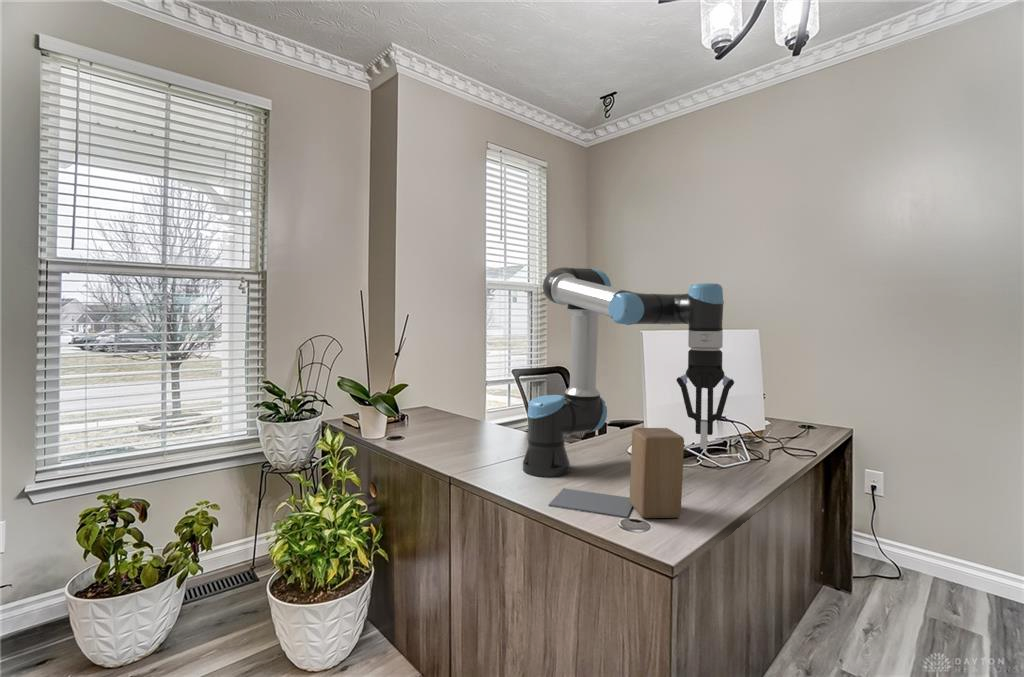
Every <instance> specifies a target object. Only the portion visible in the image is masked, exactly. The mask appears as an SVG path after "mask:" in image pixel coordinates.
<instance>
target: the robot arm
mask: <svg viewBox="0 0 1024 677" xmlns="http://www.w3.org/2000/svg"><path fill="white" fill-rule="evenodd" d="M688 288H689V289H688V292H687V293H677V294H674V293H672V294H670V293H669V294H667V293H666V294H665V293H643V292H641V293H639V292H633V291H630V290H625V289H621V288H617V287H613V286H612V283H611V280H610V278H609V276H608V275H607V274H606V273H605V272H604V271H602V270H600V269H595V268H582V267H581V268H578V267H577V268H576V267H558V268H554V269H552V270H551V271H550V272H548V273H547V275H546V276H545V277H544V280H543V283H542V290H543V293H544V296H545V297H546V298H547V300H549V301H550V302H552V303H553V304H554V303H555V304H558V305H562V306H567V308H566V309H567V311H568V312H569V313H570V314H571V330H570V331H571V333H570V334H571V335H570V337H571V338H570V359H569V360H570V362H569V363H570V370H569V387H568V388H567V389H566V390H565V391H564V396H563V395H559V394H546V395H542V396H541V395H540V396H537V397H534V398H532V399H531V400H530V401H529V402H528V407H527V440H528V441H527V444H528V445H527V448H526V451H525V454H524V458H523V459H522V460H523V461H522V471H523V472H524V473H526V474H528V475H530V476H535V477H536V476H537V477H543V476H544V477H547V478H550V477H559V476H564V475H567V474H568V473H570V471H571V462H570V459H569V456H568V453H567V450H566V446H565V437H566V436H568V435H569V436H570V435H576V434H583V433H584V434H588V433H592V432H596V431H598V430H600V429H601V428H603V426H604V425H605V423H606V420H607V417H608V407H607V405H606V401H605V400H604V399H603V397H601V393H600V391H599V390H598V389H597V362H598V361H597V360H598V359H597V358H598V335H599V334H598V330H599V316H600V315H604V316H607V317H609V318H611V319H612V321H613V322H614V323H616V324H618V325H619V324H620V325H628V326H631V325H688V334H687V335H688V336H687V338H688V339H687V340H688V342H687V343H688V344H687V345H688V346H687V347H688V348H690V349H689V350H688V351H687V353H688V354H687V357H688V358H687V361H688V362H687V369H686V371H685V374H683V375H681V376H678V377H677V378H676V379H675V380H676V382H677V385H678V386H679V387H680V389H681V395H682V399H683V402H684V407H685V410H686V414H687V417H688V418H690V419H693V420H694V421H695V430H694V431H695V433H696V435H700V440H699V441H700V446H699V447H700V450H708V436H712V435H713V432H714V427H713V426H714V425H713V424H714V422H715V421H717V420H719V421H720V420H721V419H722V416H723V412H724V409H725V407H726V402H727V399H728V395H729V391H730V389H731V388H732V387H733V386H734V385H735V381H734V379H733V378H730V377H728V376H727V375H725V371H724V370H723V351H722V350H721V349H722V348H723V346H724V345H723V338H724V337H723V336H724V335H723V334H724V331H723V317H724V303H725V301H724V293H723V292H724V290H723V287H722V285H721V284H719V283H695V284H691V285H689V287H688ZM688 379H689V380H688ZM688 381H690V383H691V384H692V385H693V386H694V388H695V412H694V410H693V406H692V403H691V399H690V398H691V397H690V393H689V390H688V387H687V384H688ZM721 381H722V385H723V388H722V391H721V394H720V397H719V400H718V401H719V402H718V405H717V409H716V412H715V413H714V388H716V387H717V386H718V385H719V383H720V382H721ZM703 389H707V414H706V416H707V417H706V418H707V419H702V396H703V395H702V394H703V391H702V390H703Z"/></svg>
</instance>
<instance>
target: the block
mask: <svg viewBox="0 0 1024 677" xmlns="http://www.w3.org/2000/svg"><path fill="white" fill-rule="evenodd" d="M630 452H631V454H630V455H631V456H630V457H631V458H630V478H629V479H630V481H629V497H630V500H629V501H630V504H631V505H632V506H633V507H632V508H633V509H634V510H635V511H636V512H637V513H638V515H639V516H640V517H641V518H644V519H673V518H674V519H677V518H680V517H681V516H682V497H683V495H682V493H683V471H684V454H685V453H684V452H685V438H684V437H683V436H682V435H680V434H678V433H677V432H675V431H673V430H672V429H670V428H668V427H635V428H633V429H632V431H631V451H630Z"/></svg>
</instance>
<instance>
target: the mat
mask: <svg viewBox="0 0 1024 677" xmlns="http://www.w3.org/2000/svg"><path fill="white" fill-rule="evenodd" d="M629 500H630V496H629V497H627V496H621V495H614V494H608V493H607V494H606V493H600V492H599V493H598V492H591V491H585V490H579V489H571V488H564V487H563V488H562V489H561V490H560V491H559V493H558V494H557V495H555V497H554V498H553V499H552V500H551V501H550V503H549V504H548V507H552V506H555V507H554V508H559V507H561V508H560V509H565V508H566V509H567V510H571V509H574V510H573V511H578V510H580V511H579V512H584V511H587V512H586V513H591V512H593V513H592V514H599V515H603V516H611V517H615V518H616V517H617V518H623V519H629V518H628V517H629V515H630V513H631V511H632V509H633V508H634V507H633V506H632V505H631V504H630V501H629Z"/></svg>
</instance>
